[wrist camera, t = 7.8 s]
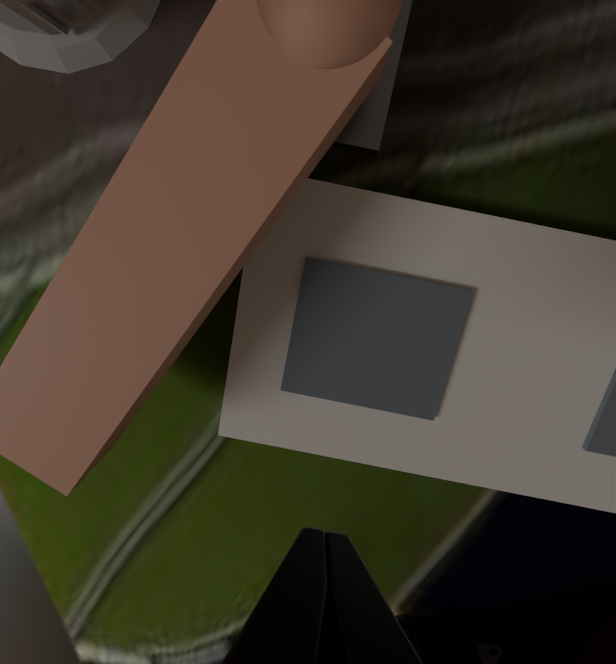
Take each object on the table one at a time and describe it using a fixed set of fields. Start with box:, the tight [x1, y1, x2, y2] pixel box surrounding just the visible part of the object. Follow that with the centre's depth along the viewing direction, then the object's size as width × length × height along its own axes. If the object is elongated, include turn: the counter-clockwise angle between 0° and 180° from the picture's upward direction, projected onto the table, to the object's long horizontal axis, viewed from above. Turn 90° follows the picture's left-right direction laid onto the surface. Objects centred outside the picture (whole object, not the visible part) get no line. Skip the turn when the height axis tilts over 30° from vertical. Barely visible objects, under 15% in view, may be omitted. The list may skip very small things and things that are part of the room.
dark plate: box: [332, 0, 413, 154], centre depth 15 cm, size 5×5×3 cm
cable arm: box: [0, 0, 402, 496], centre depth 13 cm, size 19×4×3 cm, turn 142°
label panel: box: [218, 178, 616, 513], centre depth 18 cm, size 12×26×1 cm, turn 79°
